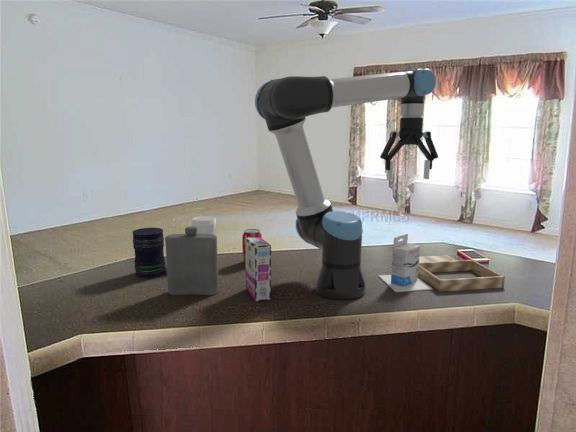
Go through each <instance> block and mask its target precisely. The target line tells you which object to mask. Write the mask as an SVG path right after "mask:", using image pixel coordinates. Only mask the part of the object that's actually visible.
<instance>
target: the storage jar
mask: <svg viewBox="0 0 576 432" xmlns="http://www.w3.org/2000/svg"><path fill="white" fill-rule="evenodd" d="M164 241H165V238H164V229H163V228H160V227H144V228H143V227H142V228H138V229H134V230H133V231H132V245H133V246H132V247H133V249H134V271H135V277H136V278H138V279H142V280H147V279H148V280H150V279H157V278H160V277H163V276H165V274H166V256H165V255H164V254H165V251H164V247H165V242H164Z"/></svg>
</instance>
